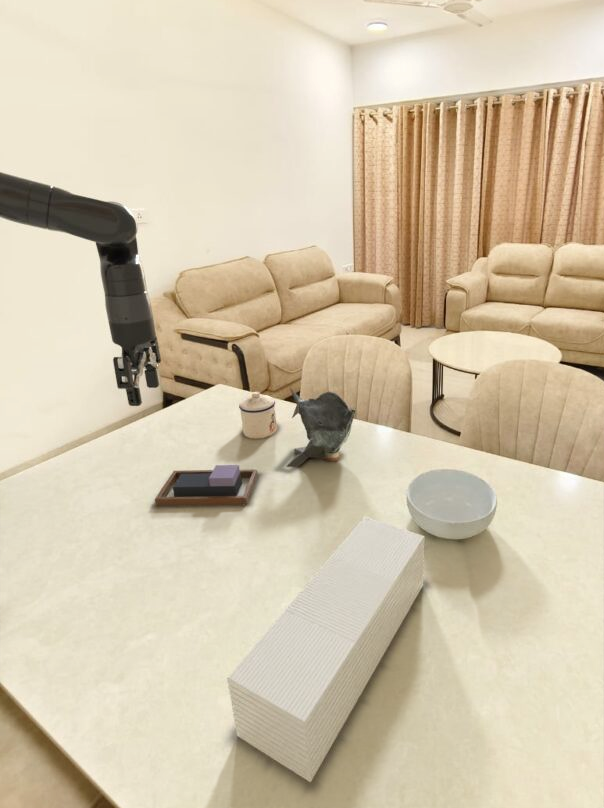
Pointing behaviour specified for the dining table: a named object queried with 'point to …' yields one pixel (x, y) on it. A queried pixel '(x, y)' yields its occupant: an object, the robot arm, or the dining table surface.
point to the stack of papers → (326, 646)
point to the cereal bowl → (451, 503)
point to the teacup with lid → (258, 416)
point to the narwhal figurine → (322, 426)
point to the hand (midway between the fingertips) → (145, 395)
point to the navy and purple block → (210, 483)
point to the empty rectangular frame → (204, 500)
